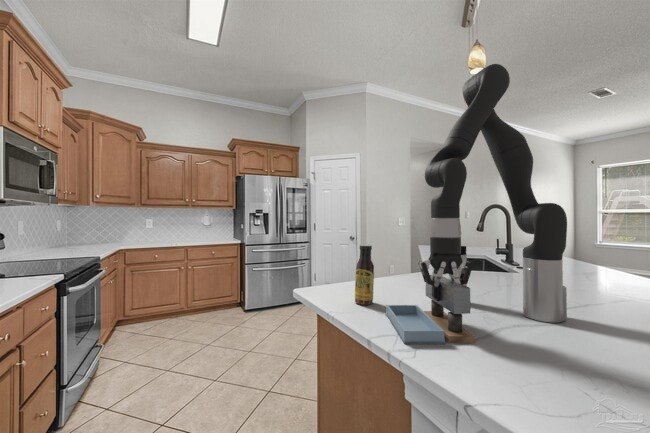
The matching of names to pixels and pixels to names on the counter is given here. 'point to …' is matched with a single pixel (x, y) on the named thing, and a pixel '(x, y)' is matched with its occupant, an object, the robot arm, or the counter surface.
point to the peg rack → (450, 324)
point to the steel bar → (452, 296)
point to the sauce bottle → (364, 277)
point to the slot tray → (414, 325)
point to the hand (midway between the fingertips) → (445, 299)
